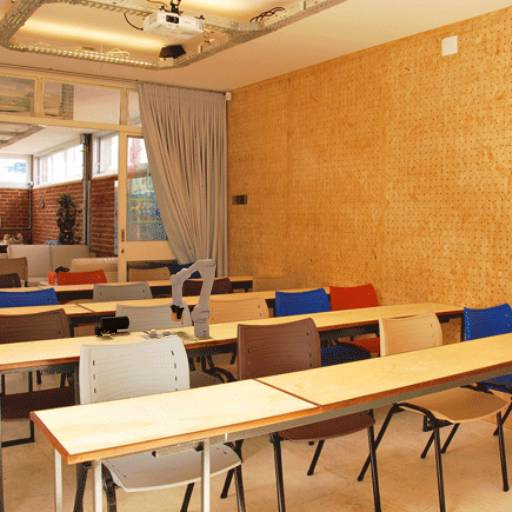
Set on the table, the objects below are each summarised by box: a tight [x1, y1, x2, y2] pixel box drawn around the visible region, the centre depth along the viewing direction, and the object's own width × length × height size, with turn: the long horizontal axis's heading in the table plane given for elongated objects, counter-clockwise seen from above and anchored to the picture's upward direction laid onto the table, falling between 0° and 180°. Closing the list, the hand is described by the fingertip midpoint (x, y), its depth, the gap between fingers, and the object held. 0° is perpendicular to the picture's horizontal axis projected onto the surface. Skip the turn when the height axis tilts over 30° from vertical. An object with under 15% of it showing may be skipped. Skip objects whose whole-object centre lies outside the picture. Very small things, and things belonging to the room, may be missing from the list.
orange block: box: [170, 312, 184, 323], centre depth 369 cm, size 5×5×4 cm
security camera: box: [95, 315, 131, 337], centre depth 362 cm, size 7×18×10 cm, turn 115°
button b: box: [149, 329, 157, 334], centre depth 353 cm, size 2×2×2 cm
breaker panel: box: [139, 331, 181, 340], centre depth 355 cm, size 12×20×3 cm, turn 118°
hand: (177, 318), depth 369 cm, fingers closed on orange block, 5 cm apart
